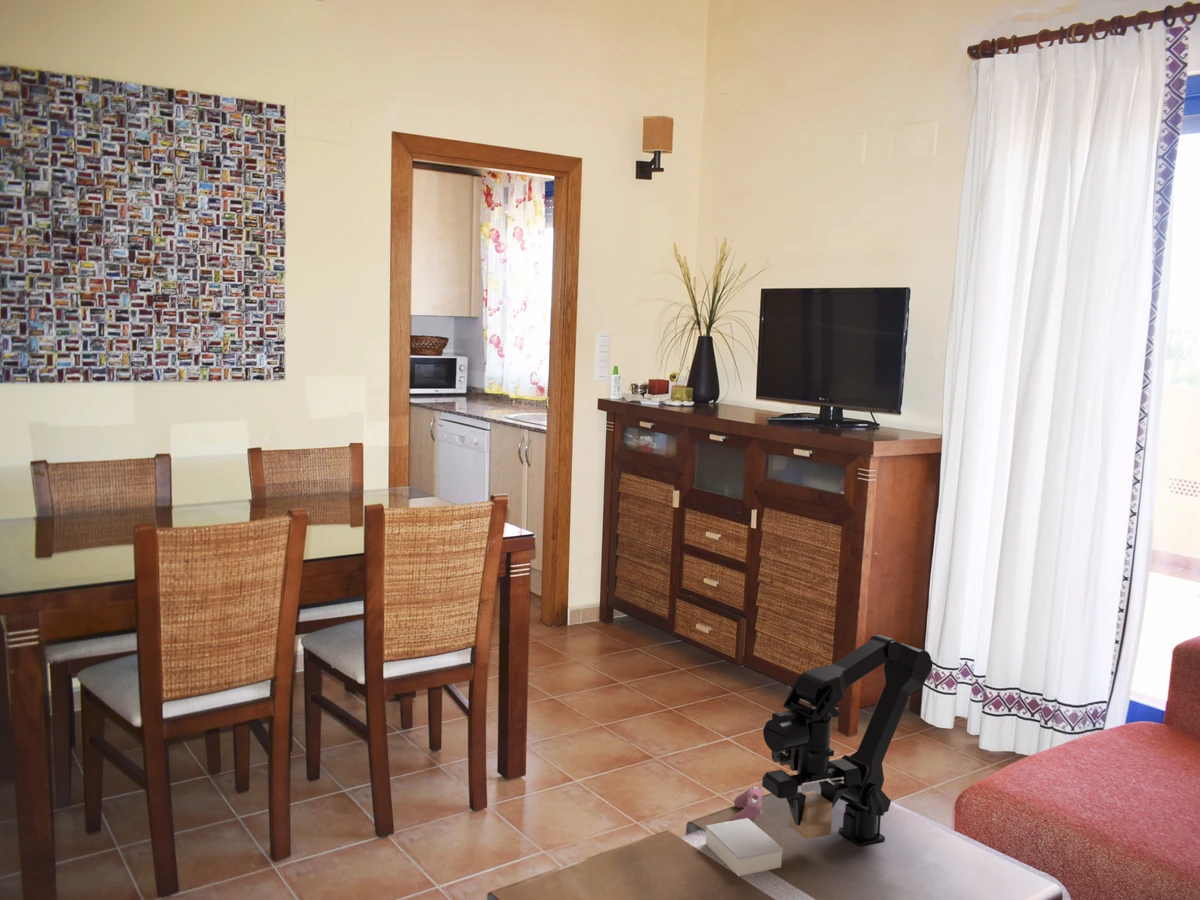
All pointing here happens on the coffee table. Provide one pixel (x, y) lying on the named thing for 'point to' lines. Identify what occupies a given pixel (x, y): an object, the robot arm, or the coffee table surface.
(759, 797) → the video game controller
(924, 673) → the robot arm
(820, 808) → the walnut block
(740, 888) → the coffee table surface
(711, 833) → the white rectangular box
